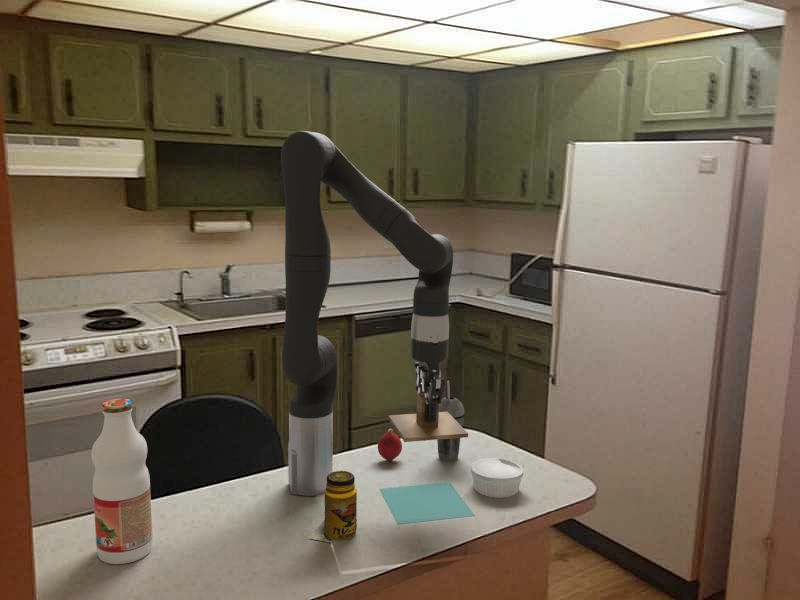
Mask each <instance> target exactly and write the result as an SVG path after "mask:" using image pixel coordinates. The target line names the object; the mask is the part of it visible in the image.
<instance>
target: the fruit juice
mask: <svg viewBox="0 0 800 600" xmlns="http://www.w3.org/2000/svg"><path fill="white" fill-rule="evenodd" d="M133 407H134V406H133V401H132V400H131V399H128V398H114V399H113V398H112V399H108V400H105V401H104V402H103V403H102V404H101V410H102V414H103V415H104V420H103V421H104V422H103V425H102V426H103V427H102V430H101V432H100V435H99V436H98V438H97V439H96V440H95V442H94V443H93V446H92V447H91V459H92V460H91V461H92V463H93V466H94V468H95V472H94V475H93V478H92V496H93V512H94V527H95V541H96V542H95V543H96V553H97V556H98V558H99V560H100V561H102V562H103V563H106V564H110V565H124V564H129V563H133V562H136V561H138V560H141V559H143V558H144V557H146V556H147V555H148V554H149V553H150V552H151V550H152V548H153V545H154V544H153V541H154V539H153V522H152V519H153V518H152V503H151V502H152V499H151V498H152V497H151V496H152V495H151V482H150V481H151V478H150V472H149V469H148V467H147V465H146V460H147V456H148V445H147V441H146V439H145V437H144V436H143V435H142V434H141V433H140V432H139V431H138V430H137V429H136V427H135V424H134V421H133V418H132V414H131V413H132V411H133Z"/></svg>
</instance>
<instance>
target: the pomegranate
mask: <svg viewBox="0 0 800 600" xmlns="http://www.w3.org/2000/svg"><path fill="white" fill-rule="evenodd" d="M402 443H403V442H402V440H401V437H399V435H397V434H396V433H395V432H394V429H392V428H389V429H388V430H387V431H386V433H383V435H381V436H380V438H379V440H378V442H377V450H378V454H379V455H380V457H382V458H383V459H384V460H385V461H387V462H392V461H393V460H395V459H396V458H397V457H398V456H400V454H401V453H402V450H403V444H402Z"/></svg>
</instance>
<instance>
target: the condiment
mask: <svg viewBox="0 0 800 600" xmlns="http://www.w3.org/2000/svg"><path fill="white" fill-rule="evenodd" d="M355 478H356V477H355V475H354V474H353V473H352V472H350V471H346V470H336V471H333V472H332V473H330V474H329V475H328V476H327V479H326V480H327V484H326V489H325V492H324V519H323V521H321V523H320V525H318V527H317V528H316V529H315V530H314V532H312V533H311V535H309V537H308V538H307V539H308V540H314V541H320V542H326V543H330V544H333V540H335V541H343V540H349V539H351V538H353V537H354V536H355V535H356V533H357V530H358V529H357V527H358V526H357V525H358V524H357V522H358V519H357V516H358V513H357V512H358V511H357V510H358V509H357V508H358V507H357V504H358V503H357V500H358V498H357V497H358V494H357V493H358V490H357V488H356V482H355ZM323 535H324V537H323Z"/></svg>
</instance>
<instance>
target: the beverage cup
mask: <svg viewBox="0 0 800 600" xmlns="http://www.w3.org/2000/svg"><path fill="white" fill-rule="evenodd" d="M446 383H447V385H446V387H447V396H445V397H442V400H441V404H439V412H448V413H449V414H450V415H451V416H452V417H453V418H454V419H455V420H456V421H457V422H458V423H459V424H460V425H461V426H462V427H463V424H464V421H465V416H466V414H465V413H466V412H465V409H464V404H463V403H462V402H461V401H460V400H459V399H458V398H456V397H454V396H450V395H451V392H450V380H447V381H446ZM436 441H437V442H436V443H437V454H438V458H439V460H440V461H443V462H455V461H457V460H458V458H459V453H460V446H461V444H460V443H461V438H452V439H439V440H436Z"/></svg>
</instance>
